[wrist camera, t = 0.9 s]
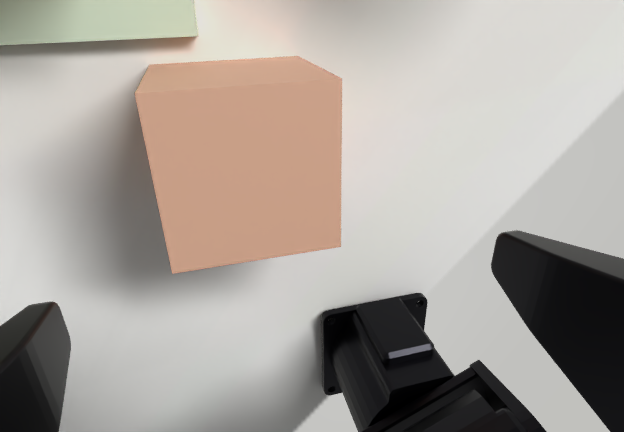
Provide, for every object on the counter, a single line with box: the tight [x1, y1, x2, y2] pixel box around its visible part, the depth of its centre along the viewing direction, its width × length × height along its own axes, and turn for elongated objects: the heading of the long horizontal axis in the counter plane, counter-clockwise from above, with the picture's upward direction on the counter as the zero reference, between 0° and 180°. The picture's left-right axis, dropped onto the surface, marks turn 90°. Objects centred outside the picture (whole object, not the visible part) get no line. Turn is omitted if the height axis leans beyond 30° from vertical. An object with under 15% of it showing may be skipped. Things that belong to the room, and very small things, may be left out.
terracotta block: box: [135, 56, 342, 274], centre depth 16 cm, size 6×6×6 cm
